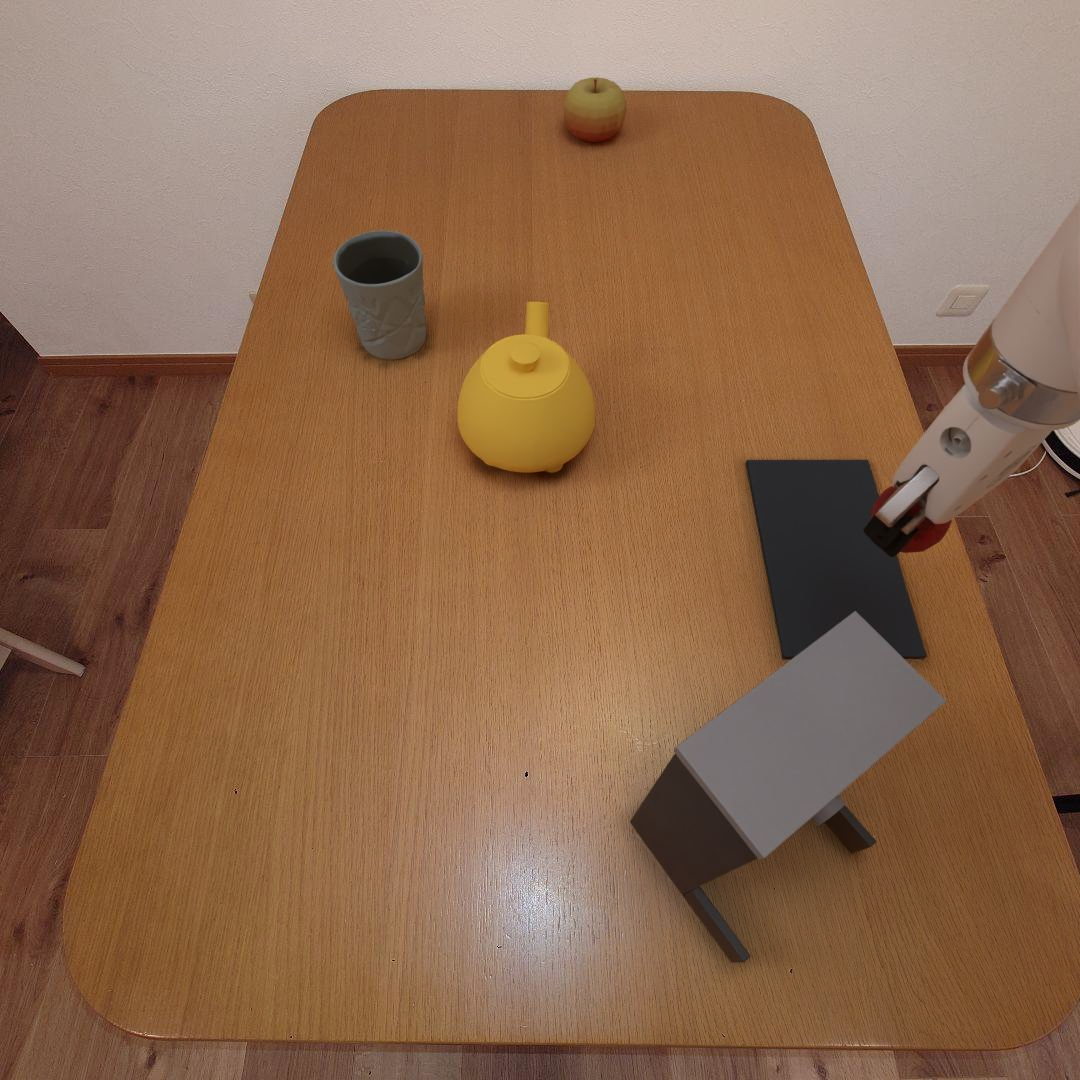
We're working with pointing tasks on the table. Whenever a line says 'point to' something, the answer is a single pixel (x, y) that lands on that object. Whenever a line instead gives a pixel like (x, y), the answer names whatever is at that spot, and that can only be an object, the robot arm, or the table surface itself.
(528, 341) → the teapot
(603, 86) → the apple
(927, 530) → the pomegranate
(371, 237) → the grey cup
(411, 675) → the table surface
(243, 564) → the table surface
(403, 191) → the table surface
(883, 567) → the mat
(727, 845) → the grey legged box
